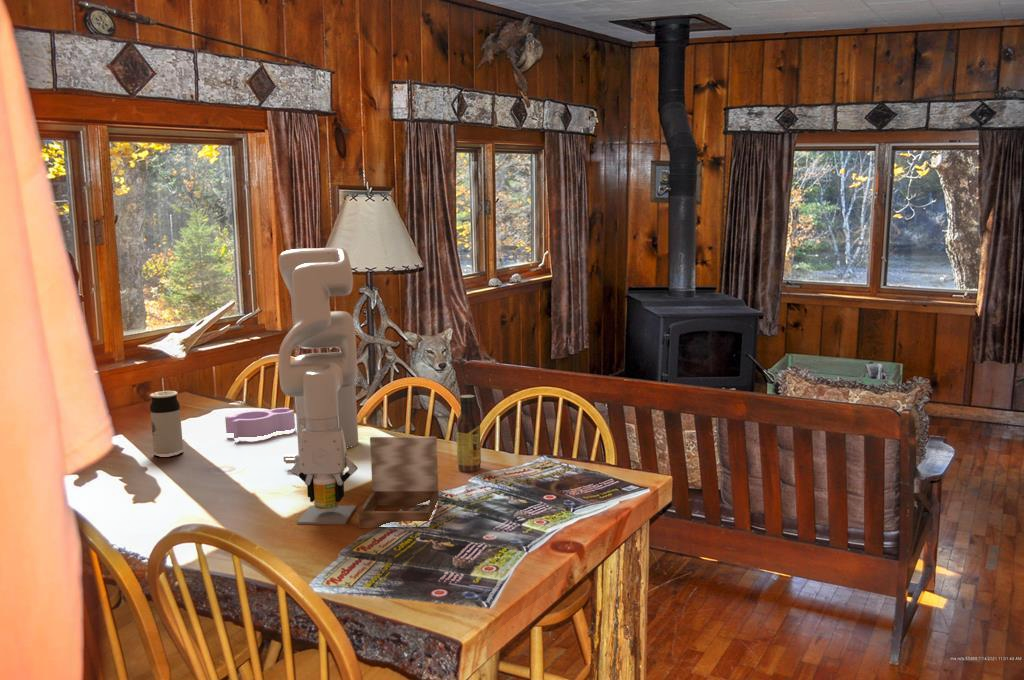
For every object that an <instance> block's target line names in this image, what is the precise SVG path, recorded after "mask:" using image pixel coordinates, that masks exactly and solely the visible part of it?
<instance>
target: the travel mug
mask: <svg viewBox="0 0 1024 680" xmlns="http://www.w3.org/2000/svg"><path fill="white" fill-rule="evenodd" d="M178 394H179V393H178V391H176V390H162V391H155V392H152V393H150V394H149V397H150V398H151V403H150V405H149V409H150V410H149V412H150V421H151V436H152V445H153V446H152V447H153V453H154V452H155V453H157V454H169V453H174V452H178V451H180V450H182V449H183V450H184V444H183V443H184V442H183V430H182V420H181V416H182V415H181V407H180V406H181V405H180V402H179V400H178V397H177V396H178Z"/></svg>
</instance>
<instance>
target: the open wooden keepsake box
mask: <svg viewBox="0 0 1024 680" xmlns="http://www.w3.org/2000/svg"><path fill="white" fill-rule="evenodd" d="M369 443H370V444H369V445H370V447H369V449H370V465H371V466H370V471H371V486H372V487H371V488H372V489H371V490H372V491H371V493H370V494H369V496H368V498H367V499H366V501H365V502H364V503H363V505H362V507H361V508H360V509H359V511H358V528H359V529H361V528H362V529H364V528H365V529H371V528H372V529H375V527H379V526H381V525H383V524H386V523H390V522H401V521H429V519H430V517H431V515H432V512H433V510H434V508H435V505H436V503H437V501H438V498H439V499H440V495H439V494H440V493H439V468H438V444H437V443H438V441H437V436H370V437H369ZM428 500H430V503H429V505H428V506H426V509H425V510H420V511H419V510H418V511H416V510H415V511H410V510H409V511H406V510H405V511H404V510H403V511H401V510H398V511H396V510H395V511H394V510H393V511H391V510H389V511H386V510H383V511H378V510H377V511H376V510H375V509H376V507H377V506H386V507H387V506H400V507H401V506H410V507H411V506H414V505H417V504H420V503H423V502H426V501H428ZM374 510H375V511H374Z"/></svg>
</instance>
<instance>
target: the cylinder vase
mask: <svg viewBox="0 0 1024 680" xmlns="http://www.w3.org/2000/svg"><path fill="white" fill-rule="evenodd" d="M356 386H357V385H356V383H355V384H354V385H352V386H349V387H340V389H339V391H338V392H337V396H338V415H339V427H341V428H342V430H343V434H344V439H345V444H346V448H347V447H351V446H353V447H355V446H356V445H358V443H359V431H358V430H359V429H358V410H357V408H358V406H357V392H356V391H357V389H356V388H357V387H356ZM354 445H355V446H354ZM351 448H352V447H351ZM347 449H348V448H347Z"/></svg>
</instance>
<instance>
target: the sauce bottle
mask: <svg viewBox="0 0 1024 680" xmlns="http://www.w3.org/2000/svg"><path fill="white" fill-rule="evenodd" d="M459 402H460V414H459V416H458V417H457V420H456V454H457V455H456V457H457V458H456V461H457V469H458V471H460V472H465V473H466V472H467V473H471V472H477V471H479V470H480V469H481V464H482V460H481V459H482V458H481V457H482V455H481V449H482V447H481V424H480V422H479V419H478V416H477V414H476V408H475V406H476V404H475V402H476V395H473V394H461V395H459Z"/></svg>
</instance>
